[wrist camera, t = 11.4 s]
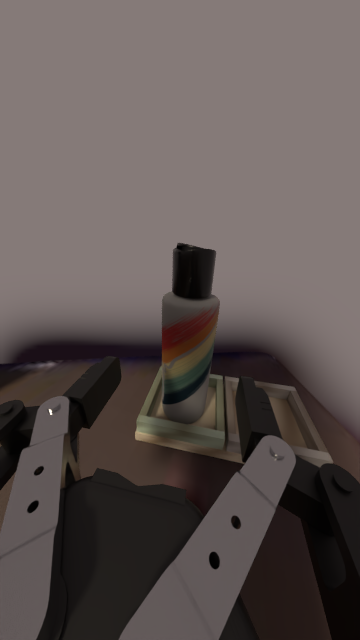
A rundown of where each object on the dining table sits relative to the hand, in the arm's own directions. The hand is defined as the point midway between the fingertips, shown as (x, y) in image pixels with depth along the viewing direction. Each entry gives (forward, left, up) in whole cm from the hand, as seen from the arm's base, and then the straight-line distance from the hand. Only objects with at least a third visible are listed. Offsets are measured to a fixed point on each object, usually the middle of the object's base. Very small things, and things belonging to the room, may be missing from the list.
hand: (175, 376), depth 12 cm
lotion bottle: (0, +8, -12) cm, 15 cm away
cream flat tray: (+5, +8, -13) cm, 16 cm away
